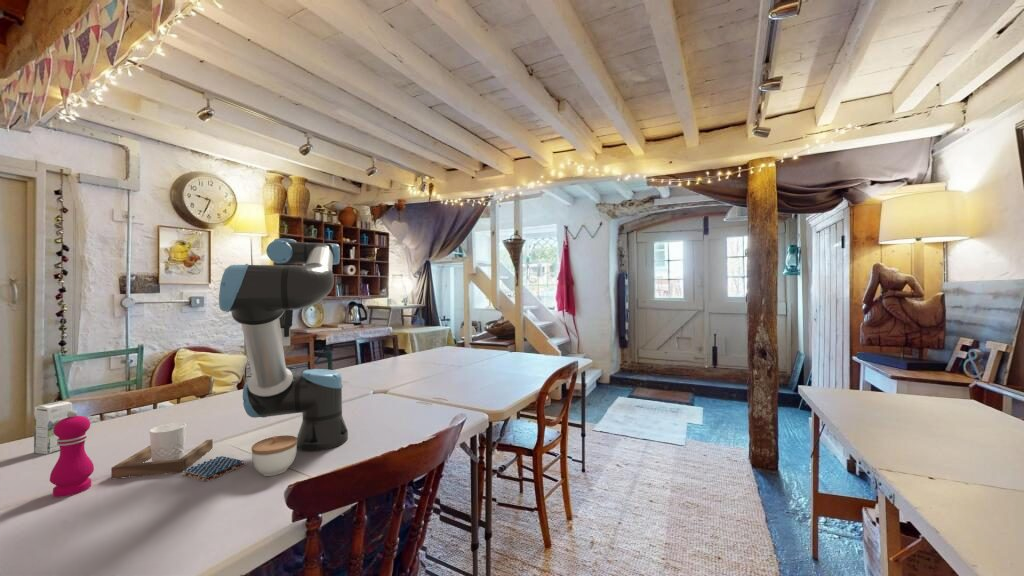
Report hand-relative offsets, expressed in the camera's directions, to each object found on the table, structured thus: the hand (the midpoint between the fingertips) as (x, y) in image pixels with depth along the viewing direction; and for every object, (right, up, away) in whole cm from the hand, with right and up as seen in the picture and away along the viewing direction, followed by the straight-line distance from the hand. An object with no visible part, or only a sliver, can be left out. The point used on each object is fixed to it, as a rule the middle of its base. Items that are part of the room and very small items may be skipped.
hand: (285, 345), depth 139 cm
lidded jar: (+18, -30, -34) cm, 49 cm away
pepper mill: (-27, -30, -45) cm, 60 cm away
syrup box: (-61, -30, -20) cm, 70 cm away
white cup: (-17, -30, -29) cm, 45 cm away
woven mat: (+1, -30, -34) cm, 45 cm away
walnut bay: (-17, -29, -29) cm, 45 cm away
